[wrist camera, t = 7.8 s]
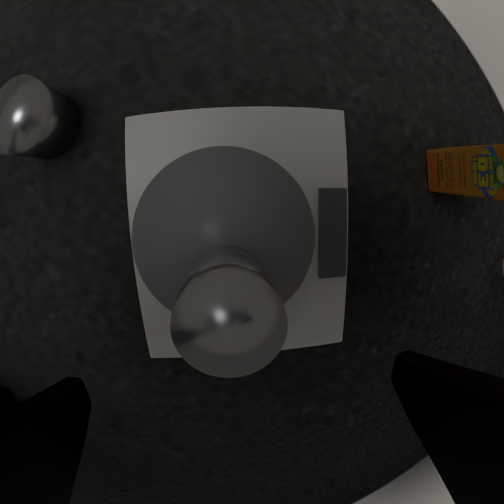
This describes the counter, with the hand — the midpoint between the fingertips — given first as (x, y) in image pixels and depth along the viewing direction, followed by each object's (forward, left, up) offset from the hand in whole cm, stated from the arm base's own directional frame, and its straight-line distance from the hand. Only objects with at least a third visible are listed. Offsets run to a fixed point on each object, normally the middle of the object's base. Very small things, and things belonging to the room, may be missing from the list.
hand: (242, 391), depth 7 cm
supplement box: (+6, -16, -12) cm, 21 cm away
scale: (+2, -1, -11) cm, 12 cm away
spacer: (0, 0, -9) cm, 9 cm away
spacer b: (+10, +11, -11) cm, 19 cm away
